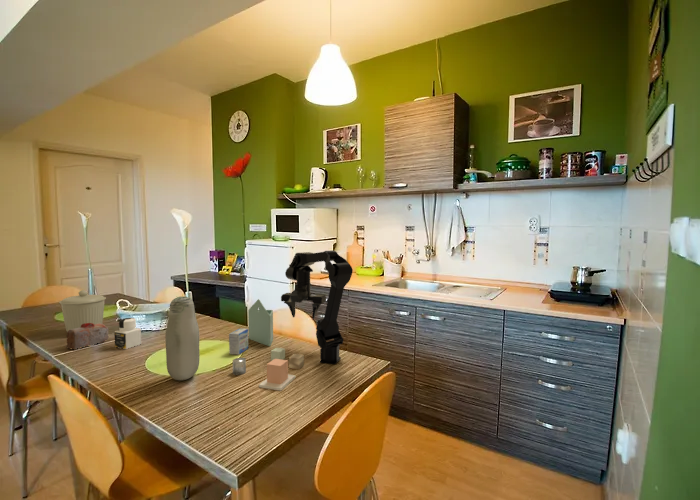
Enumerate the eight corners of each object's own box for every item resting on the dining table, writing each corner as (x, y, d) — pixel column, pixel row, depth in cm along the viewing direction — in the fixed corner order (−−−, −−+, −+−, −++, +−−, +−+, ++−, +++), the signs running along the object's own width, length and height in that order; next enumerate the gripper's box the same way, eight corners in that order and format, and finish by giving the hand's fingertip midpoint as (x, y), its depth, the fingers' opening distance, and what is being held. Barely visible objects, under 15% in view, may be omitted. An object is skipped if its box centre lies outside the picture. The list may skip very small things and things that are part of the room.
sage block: (285, 358, 134) (285, 348, 133) (280, 362, 130) (280, 352, 130) (276, 357, 135) (276, 347, 135) (270, 360, 131) (270, 350, 131)
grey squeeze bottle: (168, 375, 118) (166, 295, 116) (200, 370, 122) (198, 293, 120) (165, 387, 109) (162, 300, 107) (199, 381, 113) (198, 298, 111)
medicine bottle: (114, 347, 146) (113, 319, 145) (130, 342, 152) (129, 316, 152) (125, 349, 143) (124, 321, 142) (141, 344, 149) (140, 317, 149)
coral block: (288, 377, 114) (287, 360, 113) (280, 384, 109) (280, 365, 109) (274, 375, 115) (274, 358, 115) (267, 382, 111) (266, 364, 110)
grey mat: (295, 377, 116) (295, 375, 116) (281, 390, 106) (281, 388, 106) (274, 374, 118) (274, 372, 118) (258, 387, 109) (258, 384, 109)
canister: (85, 326, 177) (83, 286, 176) (116, 328, 174) (114, 287, 173) (50, 337, 159) (48, 293, 158) (84, 339, 156) (82, 294, 155)
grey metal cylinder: (248, 370, 122) (248, 358, 121) (241, 375, 117) (240, 363, 117) (237, 369, 123) (237, 357, 123) (230, 374, 119) (230, 361, 118)
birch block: (303, 365, 127) (303, 354, 127) (299, 369, 123) (299, 358, 123) (294, 364, 128) (294, 353, 128) (289, 368, 124) (289, 357, 124)
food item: (99, 339, 156) (98, 318, 156) (110, 341, 153) (109, 320, 153) (65, 348, 144) (64, 326, 143) (76, 351, 141) (75, 328, 140)
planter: (284, 342, 153) (283, 299, 152) (269, 346, 147) (269, 301, 146) (262, 334, 164) (262, 294, 163) (248, 338, 158) (247, 296, 157)
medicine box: (239, 355, 137) (238, 334, 136) (228, 354, 138) (228, 333, 137) (248, 348, 145) (248, 328, 144) (239, 347, 146) (238, 328, 145)
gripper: (274, 283, 139) (274, 321, 140) (316, 285, 133) (316, 324, 134) (287, 279, 150) (287, 314, 150) (326, 281, 144) (326, 318, 145)
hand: (303, 318), depth 145 cm, fingers open, 9 cm apart
